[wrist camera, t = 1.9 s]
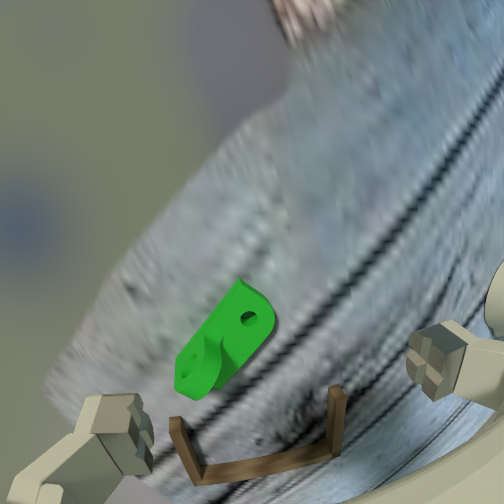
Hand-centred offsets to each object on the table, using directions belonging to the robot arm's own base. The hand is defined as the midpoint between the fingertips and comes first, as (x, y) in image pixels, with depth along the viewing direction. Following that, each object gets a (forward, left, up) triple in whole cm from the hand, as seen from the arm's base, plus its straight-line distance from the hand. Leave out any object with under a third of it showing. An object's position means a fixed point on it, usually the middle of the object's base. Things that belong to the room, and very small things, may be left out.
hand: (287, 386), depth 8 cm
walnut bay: (-1, +30, -24) cm, 38 cm away
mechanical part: (+1, +12, -25) cm, 27 cm away
